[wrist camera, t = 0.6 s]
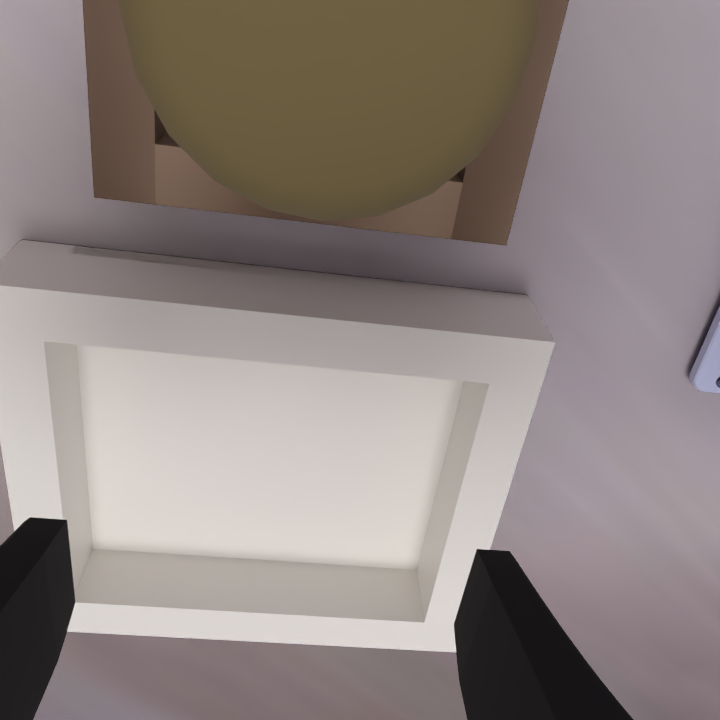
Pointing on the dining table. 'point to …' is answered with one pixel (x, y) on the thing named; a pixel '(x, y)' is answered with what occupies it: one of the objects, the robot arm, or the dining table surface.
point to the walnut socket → (199, 191)
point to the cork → (331, 92)
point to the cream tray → (261, 441)
